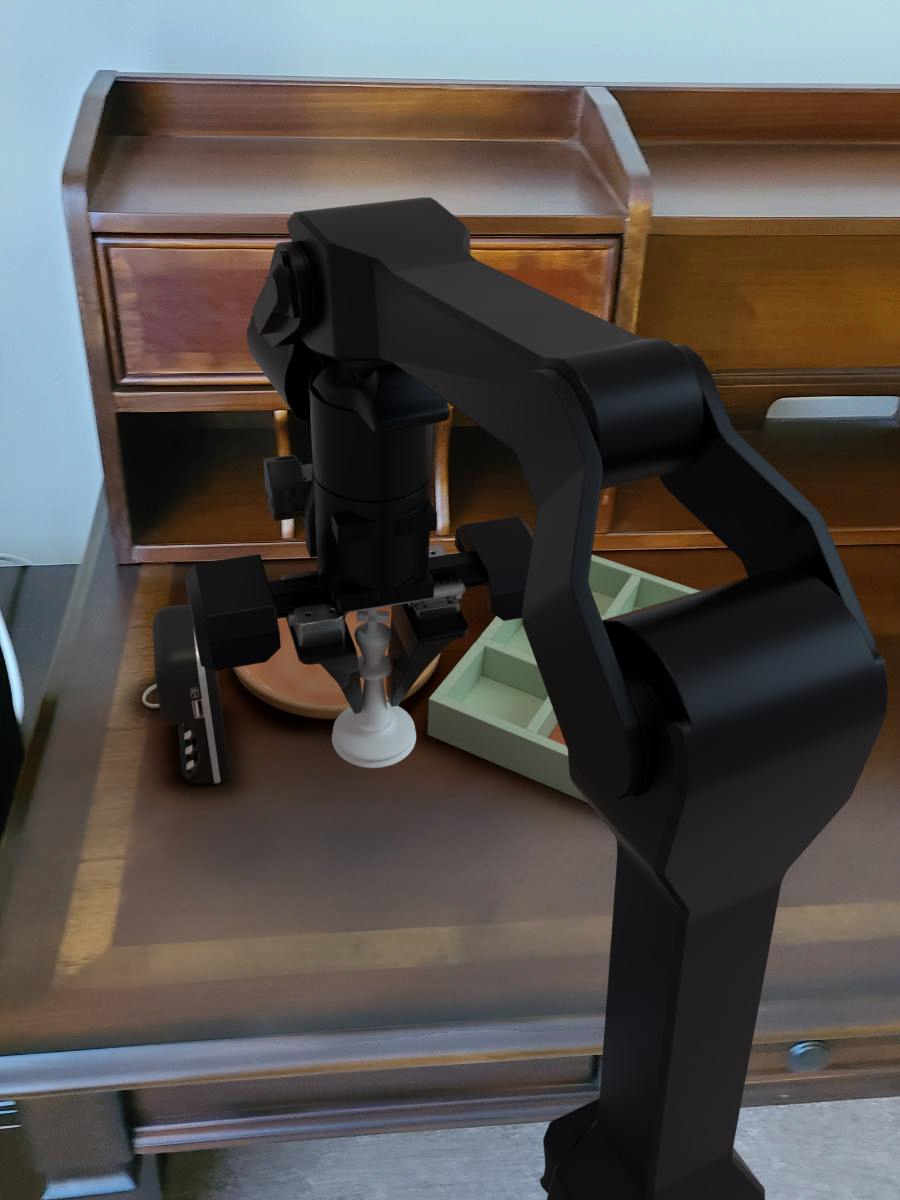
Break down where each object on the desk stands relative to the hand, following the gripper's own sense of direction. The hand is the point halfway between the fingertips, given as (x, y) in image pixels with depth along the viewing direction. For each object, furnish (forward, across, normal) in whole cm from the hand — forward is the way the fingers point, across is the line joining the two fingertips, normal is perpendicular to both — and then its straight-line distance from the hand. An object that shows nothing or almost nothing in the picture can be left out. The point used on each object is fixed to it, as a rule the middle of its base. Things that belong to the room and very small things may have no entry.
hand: (374, 704), depth 61 cm
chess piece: (+3, 0, 0) cm, 3 cm away
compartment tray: (+12, -19, -10) cm, 25 cm away
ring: (+12, +12, -17) cm, 24 cm away
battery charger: (+12, +10, -11) cm, 19 cm away
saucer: (+12, -1, -17) cm, 21 cm away
